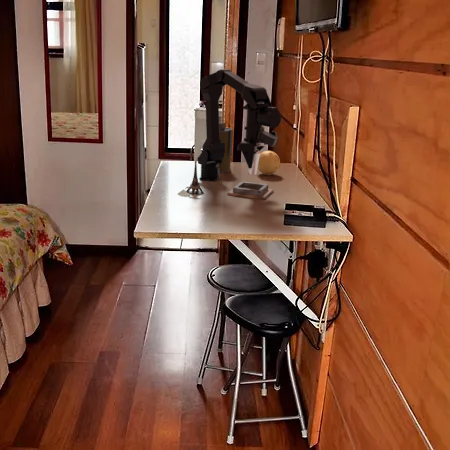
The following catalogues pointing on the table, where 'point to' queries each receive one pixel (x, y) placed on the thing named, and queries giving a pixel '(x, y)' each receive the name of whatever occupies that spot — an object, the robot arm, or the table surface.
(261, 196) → the frame
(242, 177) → the table surface
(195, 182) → the eiffel tower figurine
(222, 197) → the table surface
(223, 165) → the canister
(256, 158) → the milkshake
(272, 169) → the stress ball
